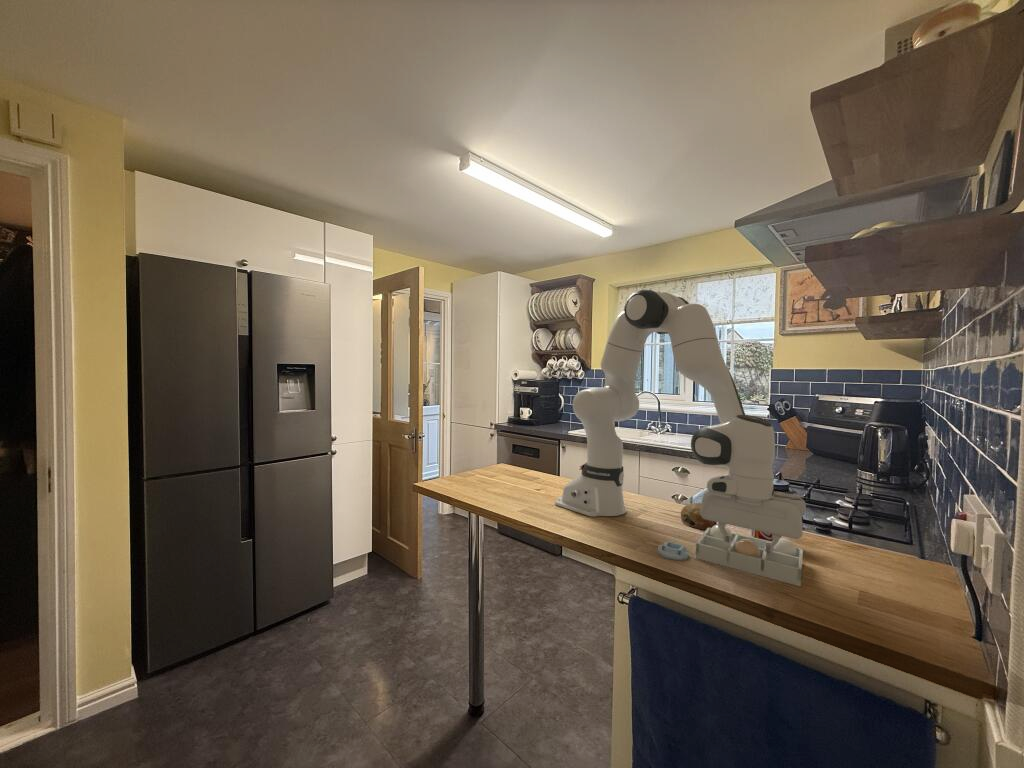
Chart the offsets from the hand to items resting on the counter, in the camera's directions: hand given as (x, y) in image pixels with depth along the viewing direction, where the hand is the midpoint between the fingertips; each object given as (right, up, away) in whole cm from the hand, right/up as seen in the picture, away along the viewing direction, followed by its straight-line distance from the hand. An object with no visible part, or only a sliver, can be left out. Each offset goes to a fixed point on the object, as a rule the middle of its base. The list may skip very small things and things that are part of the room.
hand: (747, 547), depth 94 cm
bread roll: (+1, -4, +27) cm, 28 cm away
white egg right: (+9, -1, +1) cm, 9 cm away
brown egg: (0, -1, 0) cm, 1 cm away
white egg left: (-1, -1, +9) cm, 9 cm away
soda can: (+14, -5, +16) cm, 22 cm away
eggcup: (-15, -4, +5) cm, 16 cm away
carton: (+2, -4, +3) cm, 5 cm away
